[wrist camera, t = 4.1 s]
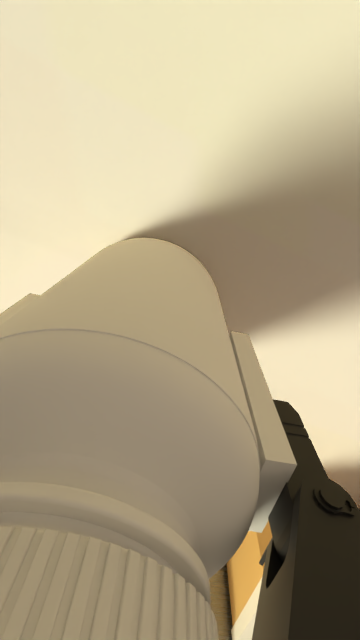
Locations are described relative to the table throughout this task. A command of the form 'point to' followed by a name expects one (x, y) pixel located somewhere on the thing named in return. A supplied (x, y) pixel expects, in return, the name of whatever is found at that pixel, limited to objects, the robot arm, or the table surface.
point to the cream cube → (246, 582)
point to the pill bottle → (121, 452)
